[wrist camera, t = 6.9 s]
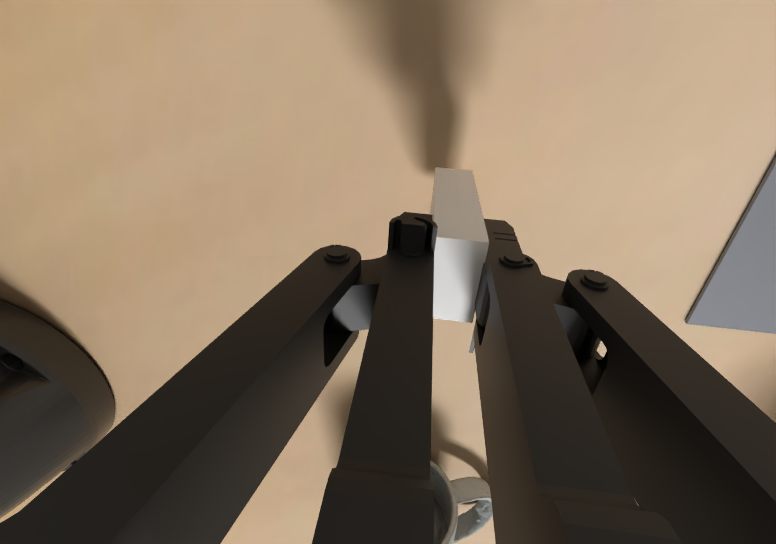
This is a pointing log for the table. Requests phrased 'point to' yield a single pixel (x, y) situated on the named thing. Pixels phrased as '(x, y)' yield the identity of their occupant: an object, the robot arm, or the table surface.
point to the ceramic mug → (446, 506)
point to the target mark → (745, 271)
